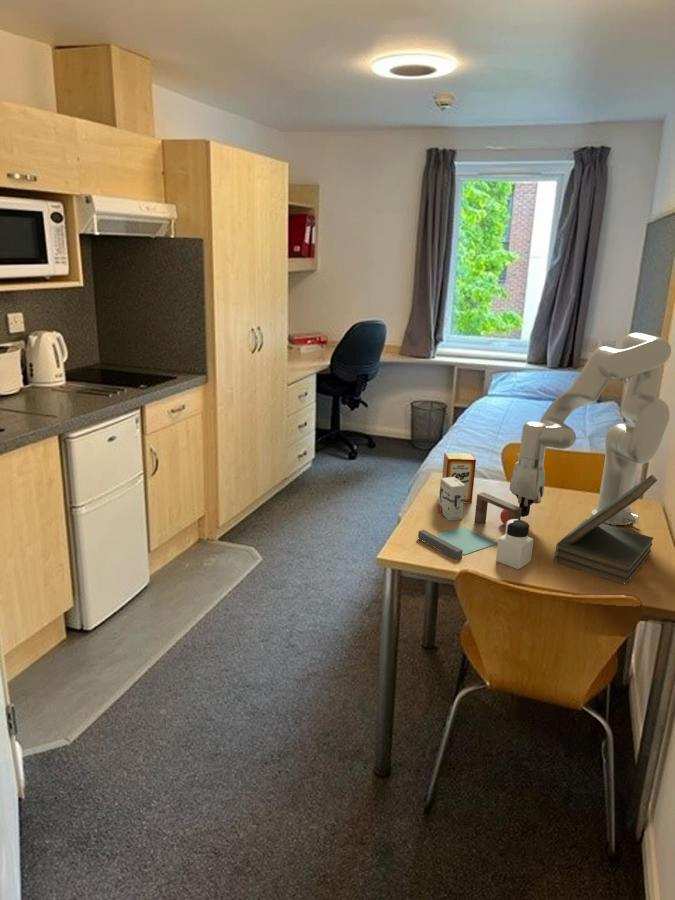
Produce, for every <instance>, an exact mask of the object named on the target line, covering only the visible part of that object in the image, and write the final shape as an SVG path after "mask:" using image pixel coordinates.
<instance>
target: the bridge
mask: <svg viewBox="0 0 675 900" xmlns="http://www.w3.org/2000/svg"><path fill="white" fill-rule="evenodd" d="M488 504H490V505H493V506H496V507H497V508H500V509H502V510H503V509H504V510H507V511H509V519H508V521H509V520H512V519H519V520H522V519H521V511H522V508H520V507H519V506H518V505H515V504H513V503H511V502H508V501H506V500H503V499H501V498H499V497H496V496H493V495H491V494H489V493H487V492H480V493H477V495H476V504H475V513H474V514H475V515H474V521H473V522H474V524H476V525H479V526H480V525H483V524H486V522H487V516H488V515H487V512H488V506H489V505H488Z"/></svg>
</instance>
